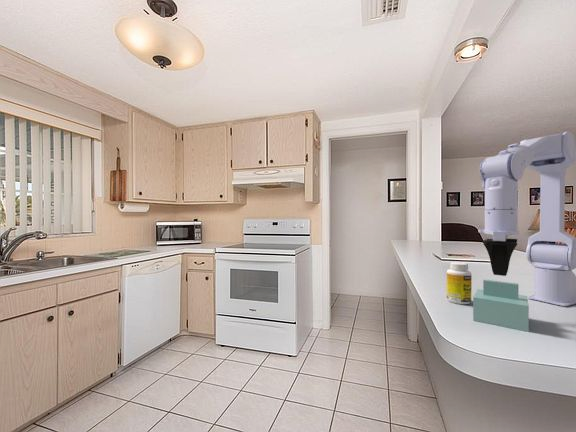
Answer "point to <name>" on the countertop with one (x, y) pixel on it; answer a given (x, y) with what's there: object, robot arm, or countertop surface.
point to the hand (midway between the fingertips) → (500, 272)
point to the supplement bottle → (459, 283)
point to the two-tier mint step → (501, 305)
